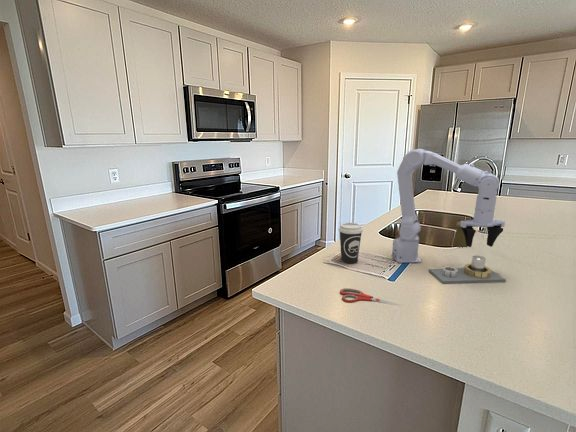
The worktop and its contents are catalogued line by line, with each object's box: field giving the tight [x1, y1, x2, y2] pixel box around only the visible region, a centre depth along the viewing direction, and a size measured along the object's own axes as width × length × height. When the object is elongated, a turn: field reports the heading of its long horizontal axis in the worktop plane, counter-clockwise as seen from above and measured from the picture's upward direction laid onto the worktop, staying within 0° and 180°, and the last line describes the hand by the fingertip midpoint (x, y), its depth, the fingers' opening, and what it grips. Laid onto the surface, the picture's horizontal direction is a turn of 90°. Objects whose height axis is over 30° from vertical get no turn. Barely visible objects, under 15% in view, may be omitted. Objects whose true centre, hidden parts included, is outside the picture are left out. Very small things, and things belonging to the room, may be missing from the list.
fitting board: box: [428, 267, 507, 285], centre depth 111 cm, size 22×10×1 cm, turn 92°
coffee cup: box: [338, 222, 364, 265], centre depth 124 cm, size 10×10×15 cm
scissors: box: [339, 287, 403, 307], centre depth 97 cm, size 8×21×2 cm, turn 78°
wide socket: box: [463, 263, 492, 279], centre depth 110 cm, size 8×8×2 cm
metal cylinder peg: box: [470, 255, 486, 272], centre depth 110 cm, size 4×4×6 cm
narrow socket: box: [441, 265, 458, 278], centre depth 110 cm, size 5×5×2 cm
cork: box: [452, 221, 468, 249], centre depth 140 cm, size 6×6×11 cm
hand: (479, 245), depth 111 cm, fingers open, 7 cm apart
